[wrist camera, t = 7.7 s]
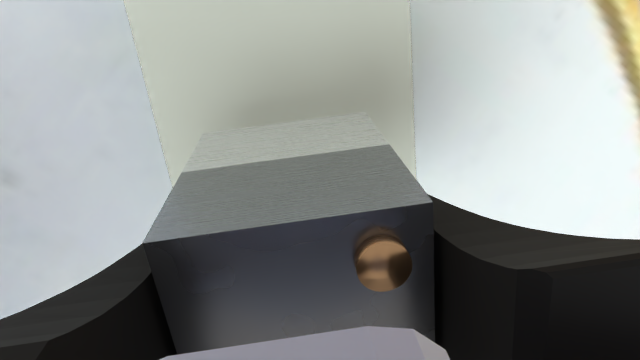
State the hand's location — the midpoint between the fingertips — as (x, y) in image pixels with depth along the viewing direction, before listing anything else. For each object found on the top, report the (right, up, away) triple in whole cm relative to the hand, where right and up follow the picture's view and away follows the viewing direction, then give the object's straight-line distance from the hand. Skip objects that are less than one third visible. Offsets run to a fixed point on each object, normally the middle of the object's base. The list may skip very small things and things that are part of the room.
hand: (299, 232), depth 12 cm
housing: (0, 0, +2) cm, 2 cm away
